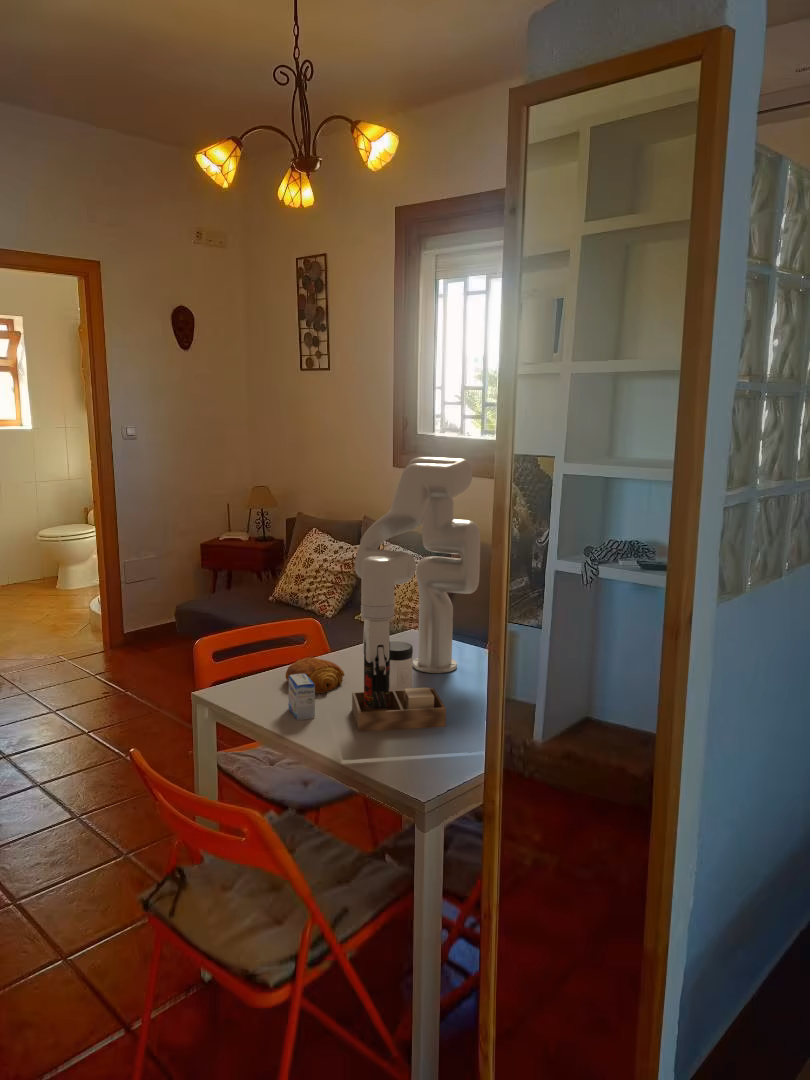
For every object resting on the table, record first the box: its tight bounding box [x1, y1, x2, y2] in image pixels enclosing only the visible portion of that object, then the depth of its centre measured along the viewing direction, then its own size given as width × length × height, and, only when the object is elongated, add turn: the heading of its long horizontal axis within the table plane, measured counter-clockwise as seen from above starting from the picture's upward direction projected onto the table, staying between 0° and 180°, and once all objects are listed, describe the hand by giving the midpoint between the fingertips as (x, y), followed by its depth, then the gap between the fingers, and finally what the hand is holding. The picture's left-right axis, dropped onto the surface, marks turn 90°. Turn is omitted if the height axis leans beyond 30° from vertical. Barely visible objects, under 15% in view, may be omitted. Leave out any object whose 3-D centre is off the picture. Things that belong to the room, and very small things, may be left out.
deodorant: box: [363, 640, 391, 709], centre depth 182 cm, size 6×6×15 cm
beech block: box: [404, 686, 434, 710], centre depth 186 cm, size 6×6×6 cm
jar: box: [390, 641, 414, 690], centre depth 204 cm, size 9×8×12 cm
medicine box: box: [288, 674, 316, 721], centre depth 188 cm, size 8×4×9 cm, turn 23°
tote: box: [351, 687, 447, 733], centre depth 185 cm, size 20×13×5 cm, turn 100°
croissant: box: [285, 657, 345, 694], centre depth 208 cm, size 14×16×8 cm
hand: (376, 685), depth 183 cm, fingers closed on deodorant, 5 cm apart
